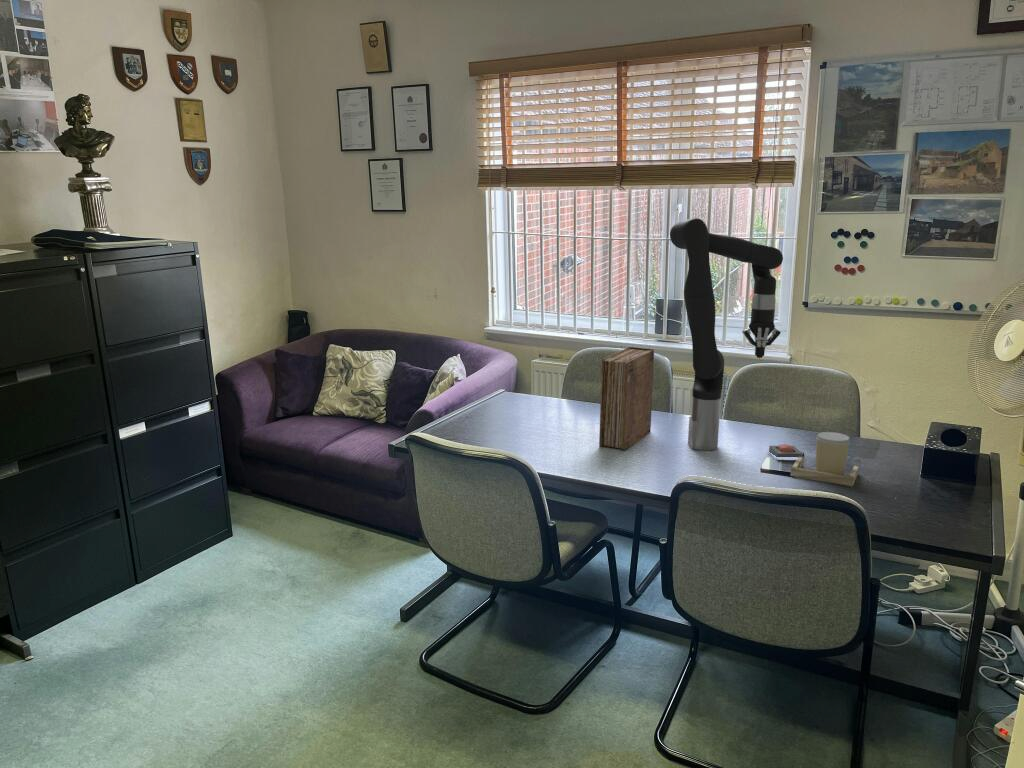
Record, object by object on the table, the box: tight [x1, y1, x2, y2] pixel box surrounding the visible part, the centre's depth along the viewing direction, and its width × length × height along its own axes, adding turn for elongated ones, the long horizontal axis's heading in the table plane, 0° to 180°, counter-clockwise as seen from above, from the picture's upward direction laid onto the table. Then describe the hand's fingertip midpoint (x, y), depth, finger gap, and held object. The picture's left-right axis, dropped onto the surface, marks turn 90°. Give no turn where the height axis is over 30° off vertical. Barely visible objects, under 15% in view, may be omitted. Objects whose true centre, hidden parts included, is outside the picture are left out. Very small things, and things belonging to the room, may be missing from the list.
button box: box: [768, 445, 804, 458], centre depth 245 cm, size 8×8×2 cm
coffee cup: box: [815, 431, 851, 475], centre depth 228 cm, size 9×9×12 cm
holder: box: [790, 457, 859, 487], centre depth 228 cm, size 12×17×2 cm
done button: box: [778, 444, 794, 452], centre depth 245 cm, size 4×4×3 cm
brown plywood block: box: [598, 346, 655, 452], centre depth 259 cm, size 25×9×30 cm, turn 151°
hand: (759, 357), depth 261 cm, fingers closed
